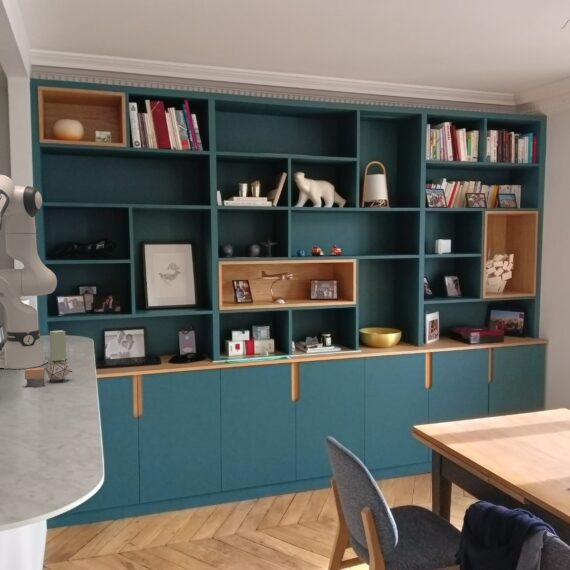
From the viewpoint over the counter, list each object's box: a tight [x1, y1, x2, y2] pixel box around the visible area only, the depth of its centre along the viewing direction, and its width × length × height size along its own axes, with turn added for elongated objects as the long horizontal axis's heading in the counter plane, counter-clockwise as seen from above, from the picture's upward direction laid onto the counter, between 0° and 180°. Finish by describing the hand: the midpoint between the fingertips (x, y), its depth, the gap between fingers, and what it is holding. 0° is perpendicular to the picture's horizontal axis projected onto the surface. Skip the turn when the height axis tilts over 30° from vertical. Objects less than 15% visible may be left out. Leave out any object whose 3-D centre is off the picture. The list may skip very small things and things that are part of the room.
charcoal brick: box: [26, 377, 45, 388], centre depth 198 cm, size 6×3×3 cm, turn 53°
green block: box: [49, 329, 67, 361], centre depth 204 cm, size 4×4×10 cm
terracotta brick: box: [24, 367, 46, 380], centre depth 198 cm, size 6×3×3 cm, turn 109°
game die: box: [43, 358, 73, 383], centre depth 205 cm, size 9×8×10 cm
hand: (8, 296), depth 188 cm, fingers open, 8 cm apart
